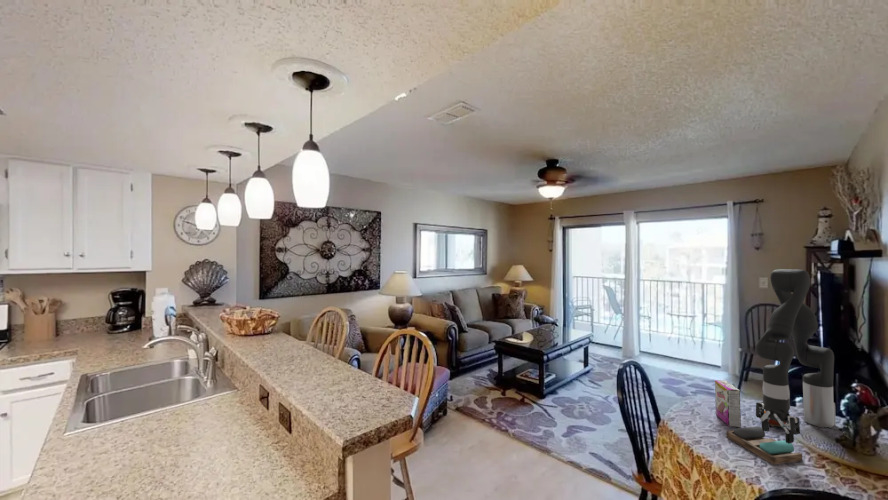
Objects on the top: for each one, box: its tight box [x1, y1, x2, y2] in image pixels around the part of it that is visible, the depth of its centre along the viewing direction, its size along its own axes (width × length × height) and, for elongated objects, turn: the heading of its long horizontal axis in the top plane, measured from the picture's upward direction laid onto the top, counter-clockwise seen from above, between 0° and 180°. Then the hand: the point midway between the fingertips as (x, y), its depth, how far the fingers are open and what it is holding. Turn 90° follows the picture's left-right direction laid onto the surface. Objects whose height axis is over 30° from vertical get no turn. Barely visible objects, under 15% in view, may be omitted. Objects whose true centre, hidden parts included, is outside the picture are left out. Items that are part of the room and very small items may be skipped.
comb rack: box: [726, 429, 803, 465], centre depth 143 cm, size 12×19×2 cm, turn 7°
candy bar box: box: [714, 379, 742, 428], centre depth 165 cm, size 11×5×16 cm, turn 168°
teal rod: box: [760, 439, 795, 455], centre depth 138 cm, size 10×4×4 cm, turn 97°
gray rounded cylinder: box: [733, 426, 766, 439], centre depth 149 cm, size 10×4×4 cm, turn 97°
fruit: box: [764, 410, 787, 430], centre depth 159 cm, size 8×8×8 cm
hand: (777, 436), depth 139 cm, fingers open, 8 cm apart
